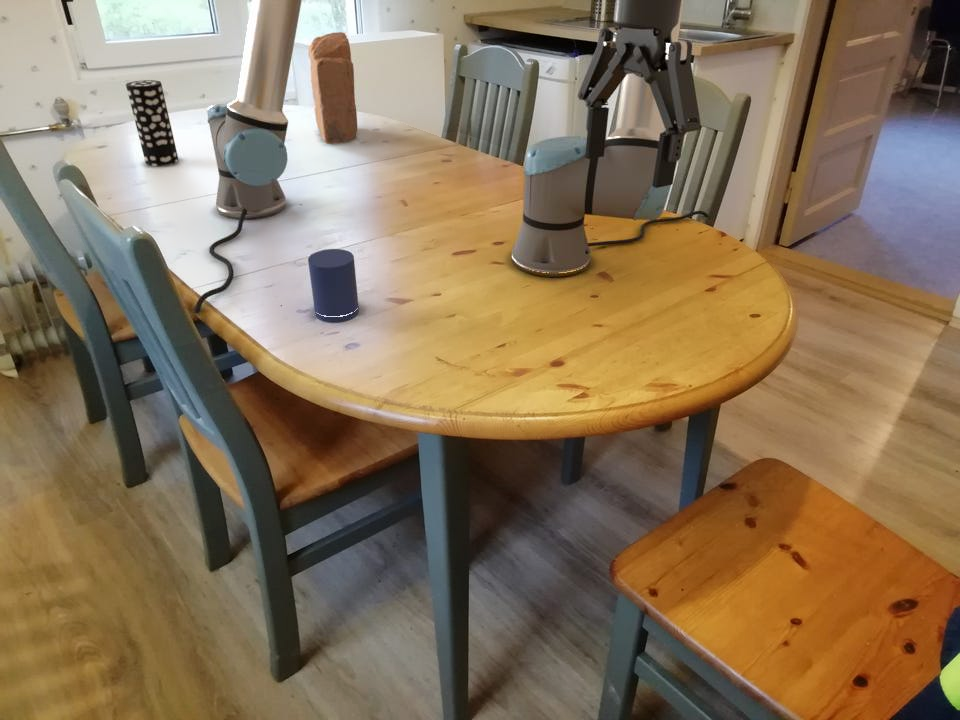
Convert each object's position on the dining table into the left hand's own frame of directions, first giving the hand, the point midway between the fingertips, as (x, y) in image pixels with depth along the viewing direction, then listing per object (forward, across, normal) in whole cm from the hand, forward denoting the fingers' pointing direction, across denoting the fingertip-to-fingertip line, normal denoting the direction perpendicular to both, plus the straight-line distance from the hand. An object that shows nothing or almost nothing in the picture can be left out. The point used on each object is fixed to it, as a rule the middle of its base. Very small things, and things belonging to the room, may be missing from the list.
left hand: (24, 26), depth 114 cm
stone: (+41, +72, +62) cm, 104 cm away
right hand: (+12, +65, -78) cm, 102 cm away
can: (+41, +34, -45) cm, 70 cm away
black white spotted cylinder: (+30, +21, +58) cm, 68 cm away
